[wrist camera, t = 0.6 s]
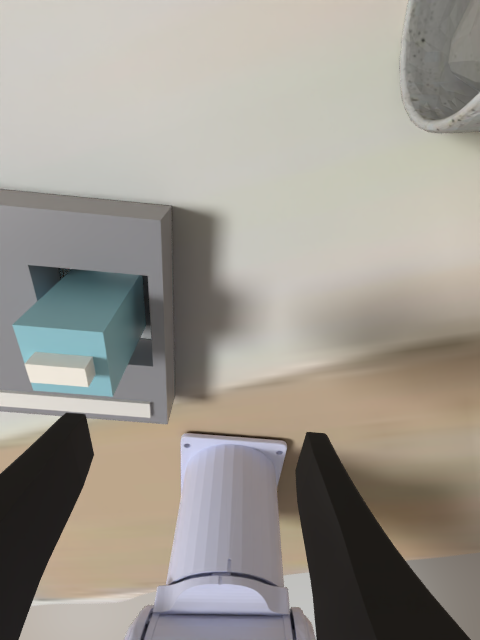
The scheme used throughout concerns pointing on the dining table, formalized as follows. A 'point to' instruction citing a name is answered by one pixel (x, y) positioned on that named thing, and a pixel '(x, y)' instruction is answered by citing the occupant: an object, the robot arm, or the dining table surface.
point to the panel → (94, 255)
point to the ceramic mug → (441, 65)
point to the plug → (82, 332)
